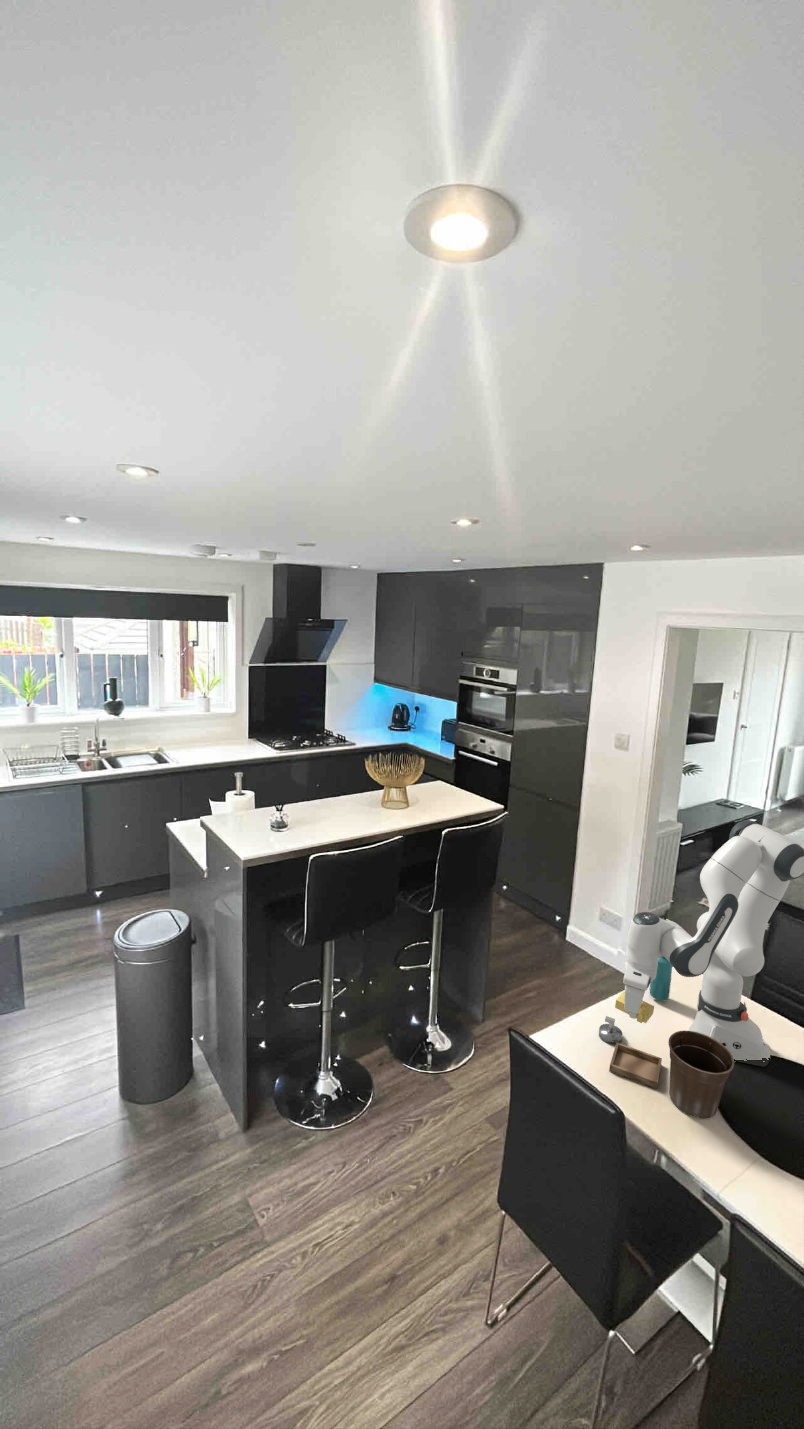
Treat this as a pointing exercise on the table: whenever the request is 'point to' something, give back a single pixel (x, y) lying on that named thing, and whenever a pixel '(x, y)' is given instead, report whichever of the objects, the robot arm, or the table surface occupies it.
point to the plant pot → (697, 1072)
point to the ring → (644, 1011)
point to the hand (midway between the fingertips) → (635, 1009)
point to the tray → (636, 1065)
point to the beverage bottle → (661, 980)
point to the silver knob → (610, 1032)
